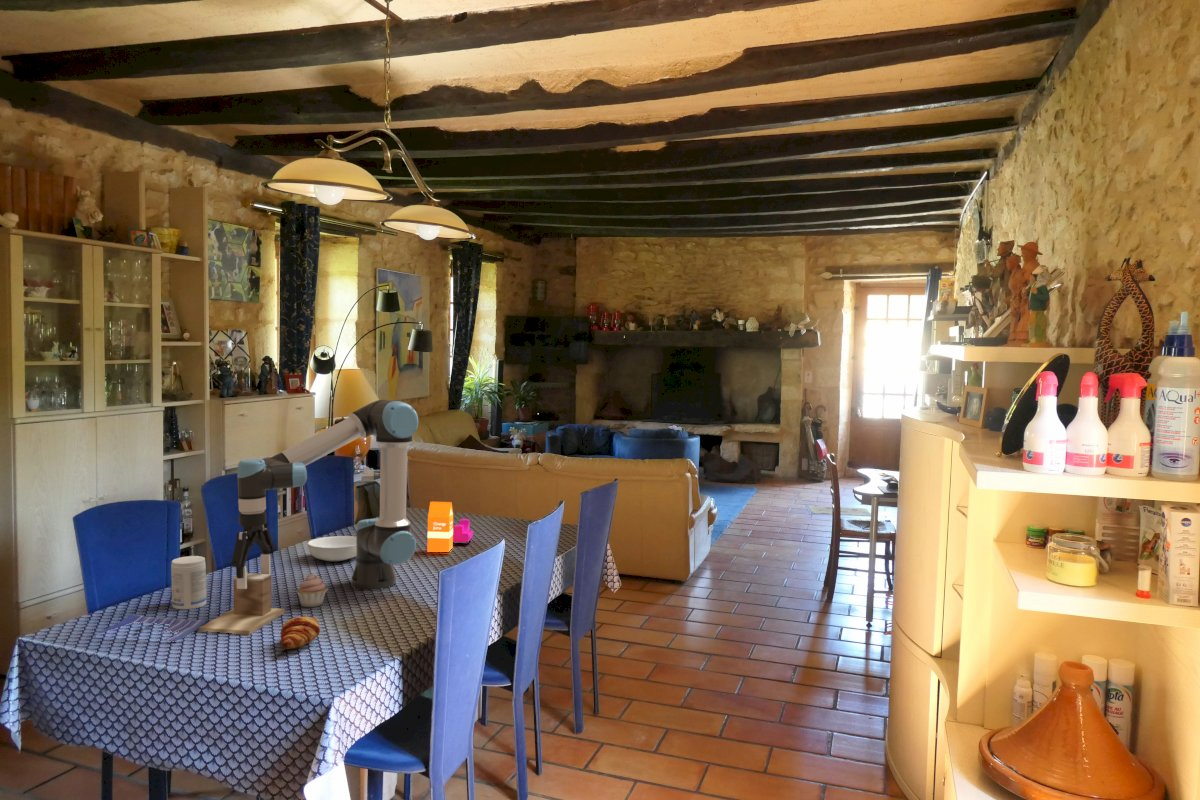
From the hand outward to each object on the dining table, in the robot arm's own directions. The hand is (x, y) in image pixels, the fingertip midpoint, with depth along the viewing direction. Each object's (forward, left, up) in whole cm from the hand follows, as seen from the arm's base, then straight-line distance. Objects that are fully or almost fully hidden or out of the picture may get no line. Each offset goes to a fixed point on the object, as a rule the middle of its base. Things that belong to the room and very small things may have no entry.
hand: (254, 581), depth 243 cm
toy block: (-34, -111, -11) cm, 116 cm away
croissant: (-26, +18, -11) cm, 33 cm away
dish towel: (+20, +17, -11) cm, 29 cm away
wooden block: (0, 0, -9) cm, 9 cm away
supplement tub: (+24, -6, -11) cm, 27 cm away
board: (0, +5, -10) cm, 12 cm away
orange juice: (-30, -90, -11) cm, 95 cm away
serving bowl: (+5, -70, -11) cm, 71 cm away
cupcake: (-12, -14, -11) cm, 21 cm away
